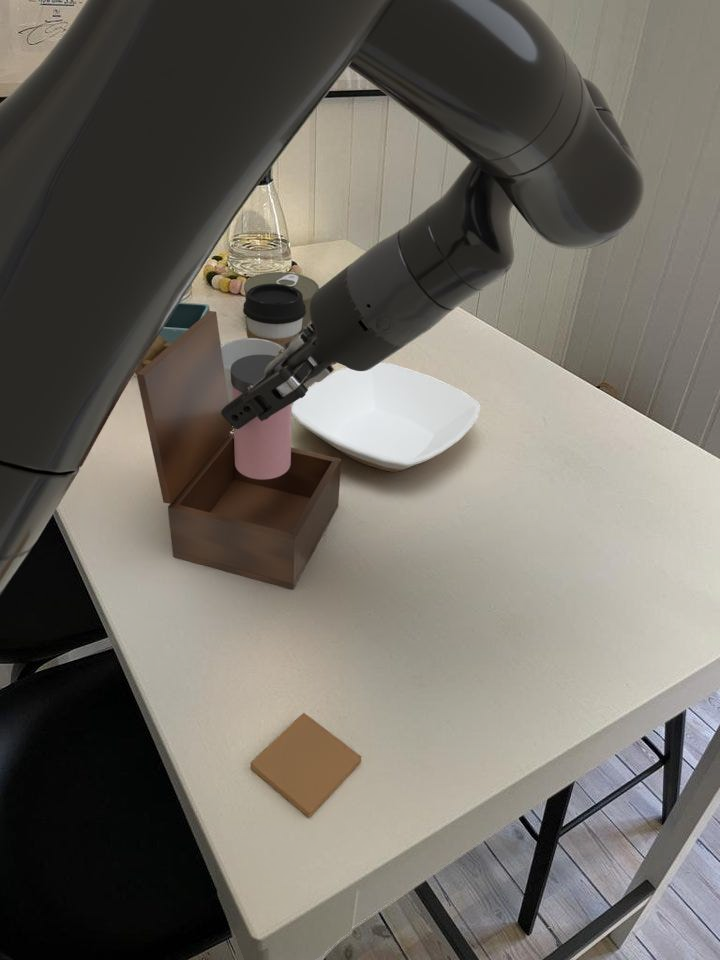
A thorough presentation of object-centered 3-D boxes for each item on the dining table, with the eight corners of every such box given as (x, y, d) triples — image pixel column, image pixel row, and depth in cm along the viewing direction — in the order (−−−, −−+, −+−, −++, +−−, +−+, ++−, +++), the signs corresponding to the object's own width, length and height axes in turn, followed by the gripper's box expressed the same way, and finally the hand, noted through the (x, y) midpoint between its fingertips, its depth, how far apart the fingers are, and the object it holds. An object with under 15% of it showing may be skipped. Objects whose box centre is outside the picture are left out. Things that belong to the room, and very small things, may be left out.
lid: (216, 311, 78) (172, 306, 79) (143, 375, 67) (93, 368, 68) (232, 429, 86) (192, 423, 88) (170, 504, 75) (125, 496, 76)
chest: (338, 505, 88) (341, 458, 84) (293, 589, 77) (294, 540, 73) (231, 479, 91) (229, 432, 87) (172, 557, 79) (167, 507, 75)
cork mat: (309, 818, 58) (309, 813, 57) (249, 768, 61) (249, 762, 60) (361, 762, 62) (362, 756, 61) (303, 717, 65) (303, 712, 64)
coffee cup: (248, 407, 104) (245, 306, 95) (242, 377, 110) (239, 279, 101) (308, 404, 106) (311, 304, 97) (299, 374, 112) (301, 278, 103)
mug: (285, 402, 106) (286, 338, 100) (286, 438, 98) (287, 371, 92) (193, 402, 104) (188, 336, 98) (187, 438, 97) (181, 370, 91)
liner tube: (263, 487, 68) (262, 391, 62) (221, 463, 70) (217, 368, 64) (303, 462, 71) (306, 369, 65) (262, 440, 74) (261, 348, 68)
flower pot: (155, 354, 114) (149, 298, 109) (213, 358, 114) (210, 303, 109) (139, 383, 107) (132, 325, 102) (201, 387, 107) (197, 330, 102)
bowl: (364, 382, 112) (366, 350, 108) (493, 435, 102) (500, 402, 99) (267, 444, 97) (267, 410, 94) (408, 513, 88) (413, 477, 85)
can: (233, 333, 121) (231, 293, 117) (262, 305, 131) (261, 267, 127) (302, 347, 119) (303, 307, 115) (327, 318, 128) (329, 279, 124)
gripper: (378, 233, 63) (247, 337, 72) (322, 297, 51) (176, 410, 61) (432, 305, 65) (298, 397, 74) (389, 380, 54) (238, 477, 63)
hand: (243, 402), depth 67 cm, fingers closed on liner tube, 5 cm apart
